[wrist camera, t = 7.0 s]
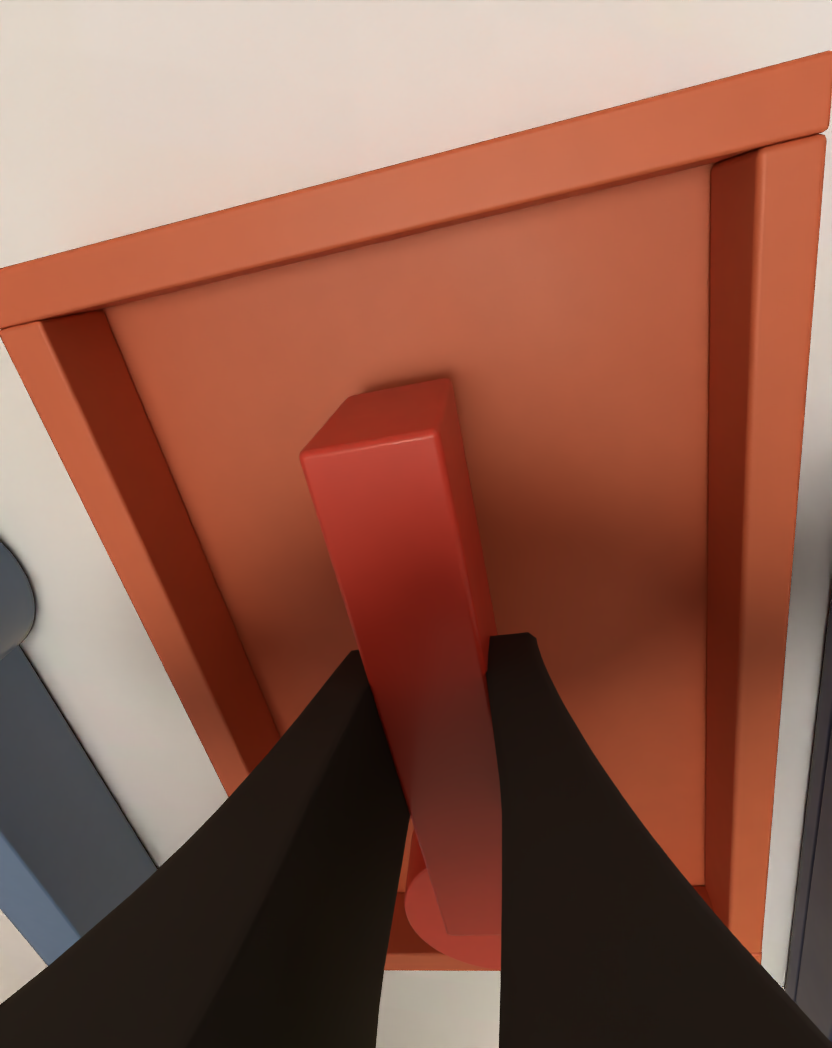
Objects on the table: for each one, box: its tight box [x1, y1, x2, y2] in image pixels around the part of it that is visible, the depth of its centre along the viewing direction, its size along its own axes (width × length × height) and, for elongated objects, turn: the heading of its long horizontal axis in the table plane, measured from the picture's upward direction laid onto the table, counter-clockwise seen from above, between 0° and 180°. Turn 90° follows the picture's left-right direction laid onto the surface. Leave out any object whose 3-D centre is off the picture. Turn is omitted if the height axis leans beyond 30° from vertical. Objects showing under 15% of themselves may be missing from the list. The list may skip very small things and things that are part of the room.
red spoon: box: [299, 378, 502, 970], centre depth 10 cm, size 12×4×3 cm, turn 12°
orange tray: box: [0, 51, 832, 971], centre depth 11 cm, size 16×10×2 cm, turn 12°
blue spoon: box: [0, 542, 157, 966], centre depth 13 cm, size 12×4×3 cm, turn 12°
